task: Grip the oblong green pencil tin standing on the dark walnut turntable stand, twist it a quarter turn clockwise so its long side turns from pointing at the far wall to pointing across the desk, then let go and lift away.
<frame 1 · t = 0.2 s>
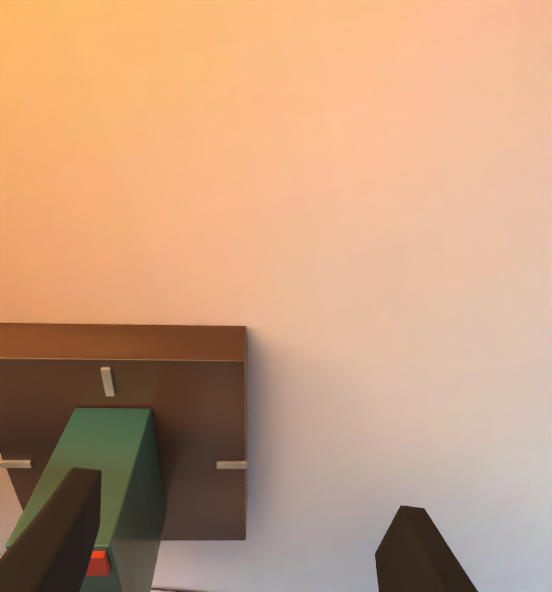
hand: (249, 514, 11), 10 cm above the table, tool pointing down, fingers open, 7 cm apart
stand: (138, 422, 23), on the table
tin: (104, 527, 18), point 6 cm above the table, hinge at 0.0°
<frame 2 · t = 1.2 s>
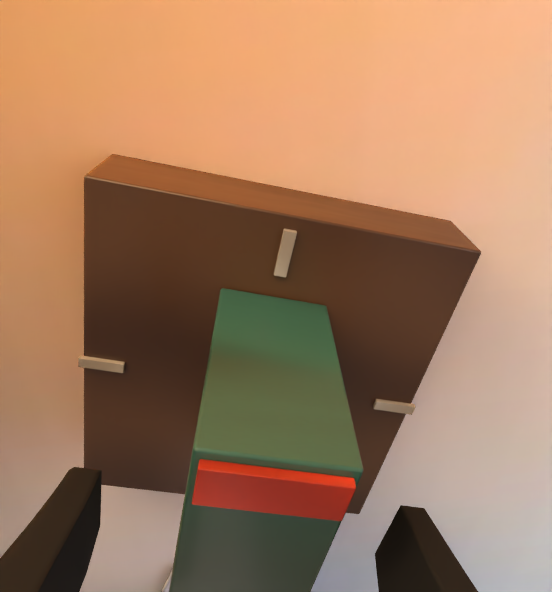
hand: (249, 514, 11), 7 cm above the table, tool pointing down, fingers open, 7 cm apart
stand: (255, 340, 17), on the table
tin: (251, 462, 12), point 6 cm above the table, hinge at 0.0°
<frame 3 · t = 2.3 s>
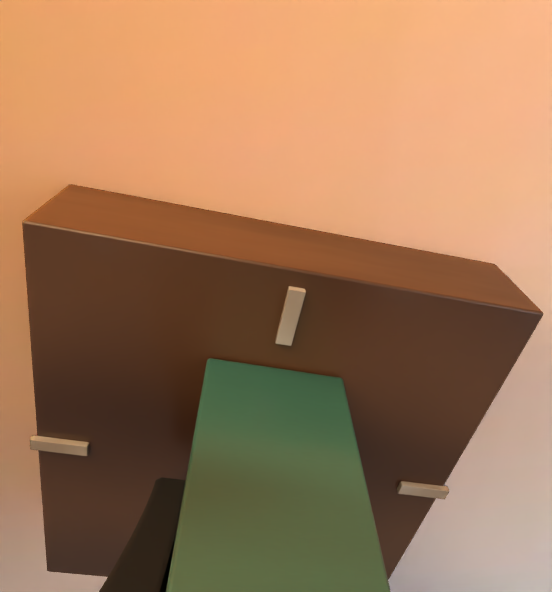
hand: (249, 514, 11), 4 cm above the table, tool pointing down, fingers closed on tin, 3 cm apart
stand: (252, 401, 14), on the table
tin: (245, 591, 10), point 6 cm above the table, hinge at -0.1°, touching gripper
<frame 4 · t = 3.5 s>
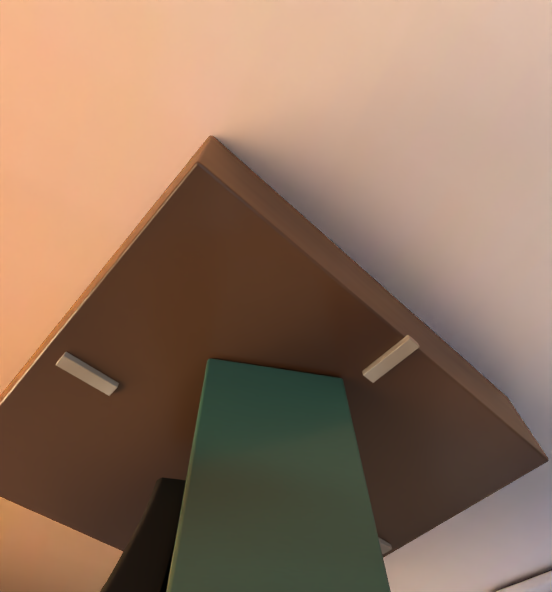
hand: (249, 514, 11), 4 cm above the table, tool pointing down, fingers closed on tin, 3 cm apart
stand: (252, 401, 14), on the table
tin: (245, 591, 10), point 6 cm above the table, hinge at -59.4°, touching gripper
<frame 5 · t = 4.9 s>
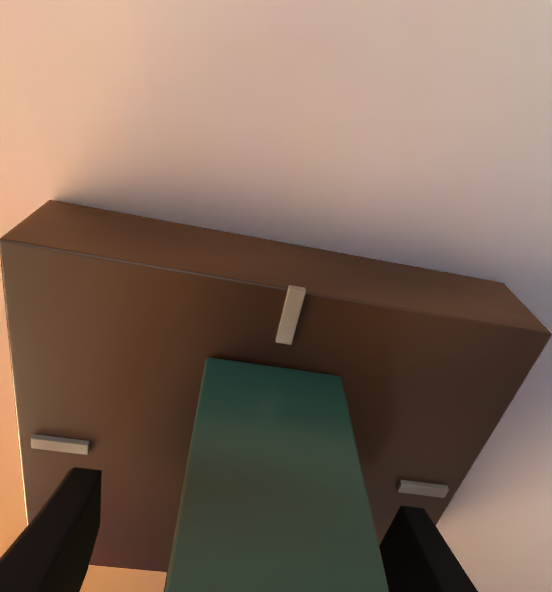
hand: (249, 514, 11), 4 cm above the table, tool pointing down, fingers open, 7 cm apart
stand: (252, 400, 14), on the table
tin: (246, 589, 10), point 6 cm above the table, hinge at -89.4°
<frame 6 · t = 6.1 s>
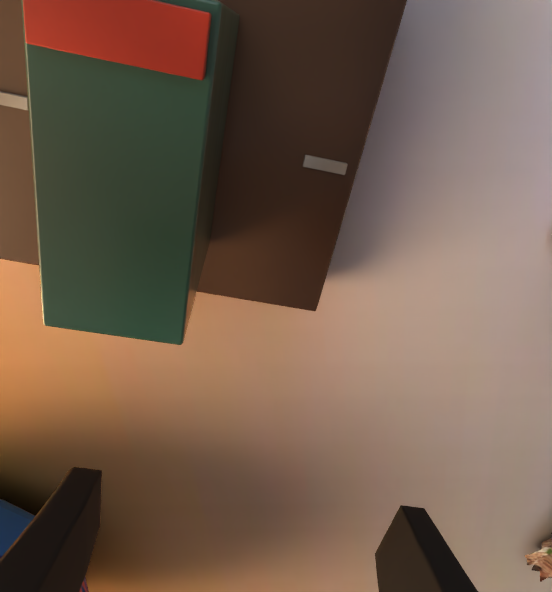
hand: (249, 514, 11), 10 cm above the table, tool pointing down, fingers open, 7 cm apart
stand: (184, 119, 16), on the table
tin: (149, 156, 11), point 6 cm above the table, hinge at -89.4°
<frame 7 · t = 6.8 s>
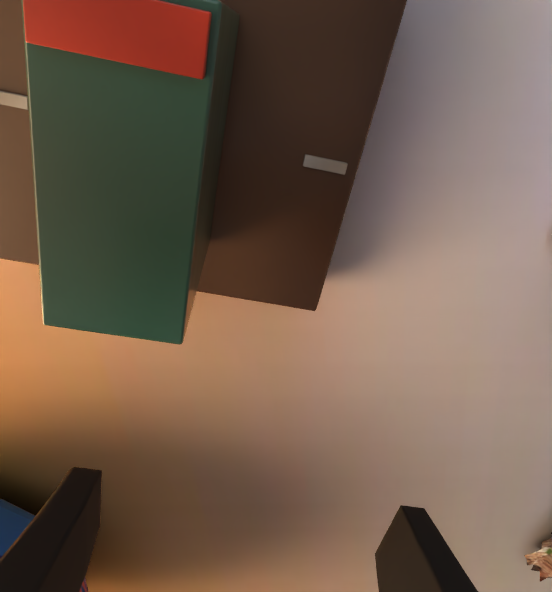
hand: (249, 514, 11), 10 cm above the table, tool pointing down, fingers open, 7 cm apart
stand: (184, 118, 16), on the table
tin: (149, 156, 11), point 6 cm above the table, hinge at -89.4°
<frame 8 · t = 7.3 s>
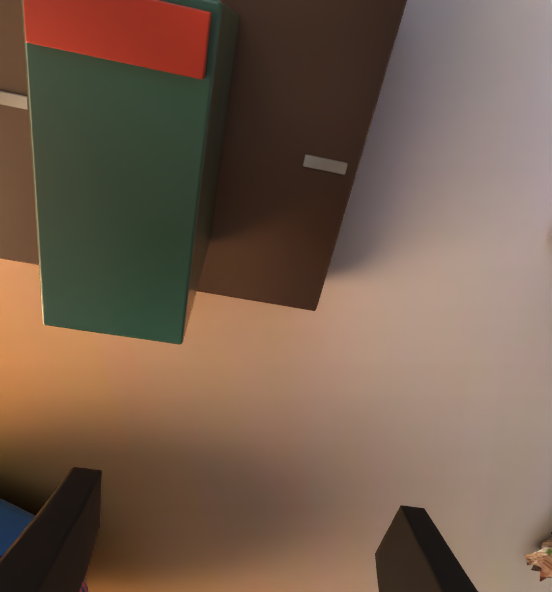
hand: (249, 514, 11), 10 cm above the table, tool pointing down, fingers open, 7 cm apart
stand: (184, 118, 16), on the table
tin: (149, 156, 11), point 6 cm above the table, hinge at -89.4°
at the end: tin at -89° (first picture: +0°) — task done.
